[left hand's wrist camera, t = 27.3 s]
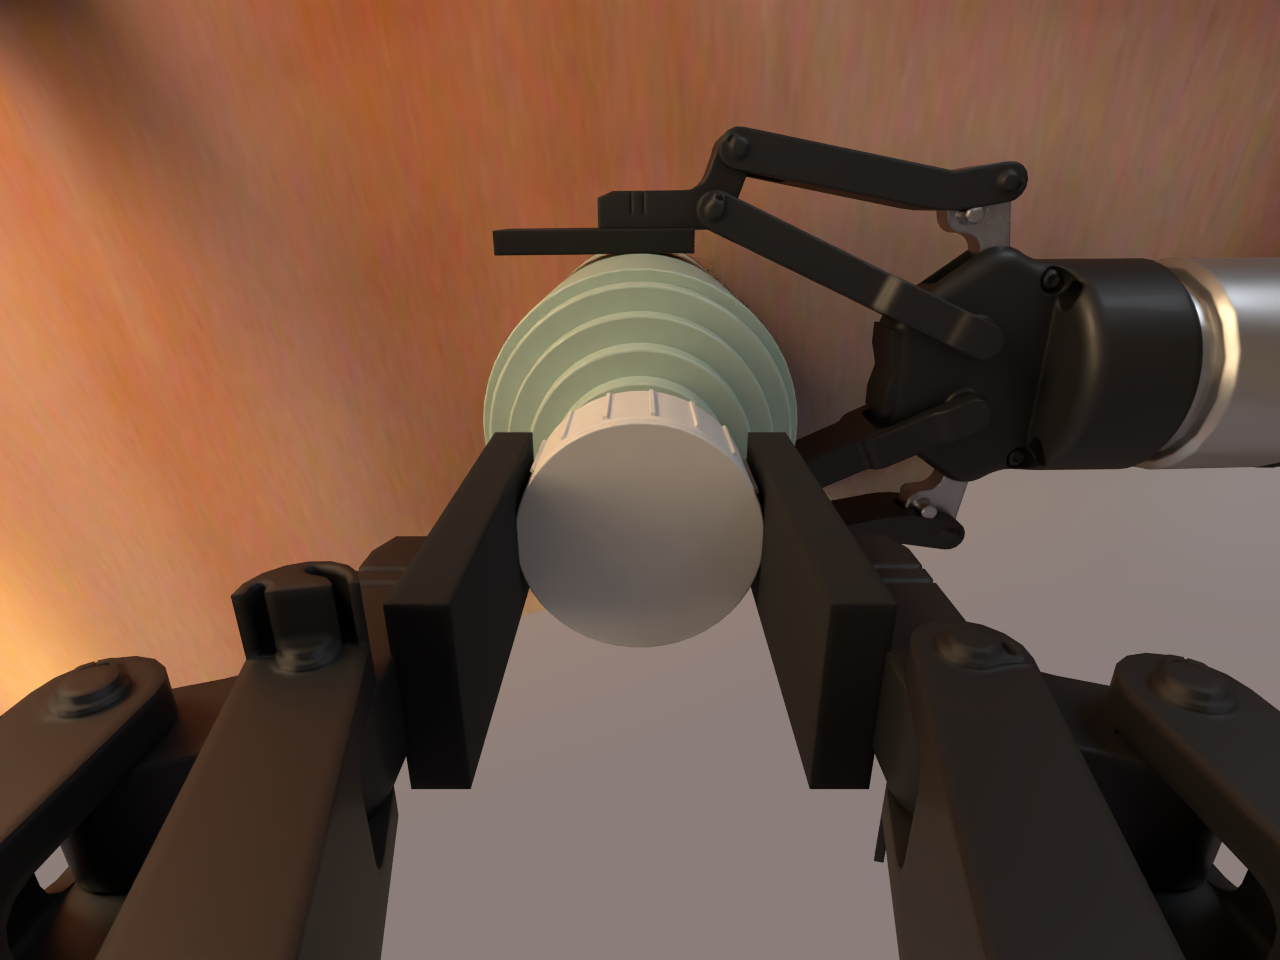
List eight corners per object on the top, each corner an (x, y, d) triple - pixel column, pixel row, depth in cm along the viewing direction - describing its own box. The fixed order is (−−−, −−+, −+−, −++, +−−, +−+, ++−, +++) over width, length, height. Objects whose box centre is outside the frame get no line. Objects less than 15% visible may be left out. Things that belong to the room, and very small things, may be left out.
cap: (516, 571, 15) (496, 629, 13) (546, 367, 13) (529, 396, 11) (720, 605, 15) (732, 667, 13) (773, 410, 14) (796, 445, 12)
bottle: (525, 266, 30) (351, 351, 12) (717, 224, 29) (841, 247, 11) (571, 447, 33) (487, 734, 15) (746, 412, 32) (881, 668, 14)
